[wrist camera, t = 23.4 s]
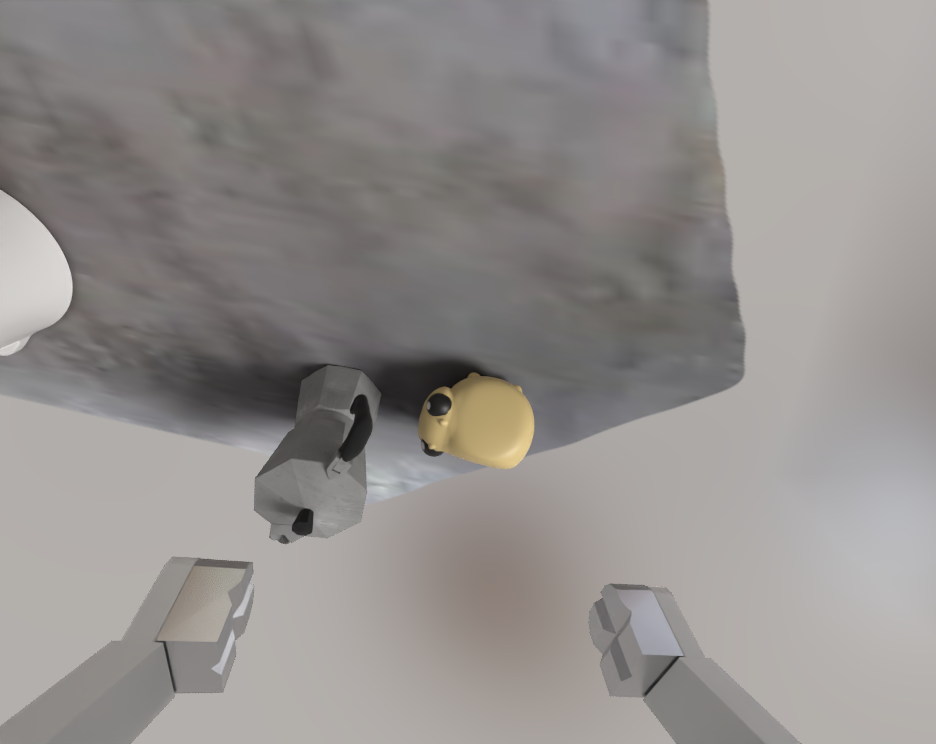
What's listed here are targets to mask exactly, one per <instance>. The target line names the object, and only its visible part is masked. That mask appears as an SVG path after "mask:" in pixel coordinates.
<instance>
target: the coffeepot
mask: <svg viewBox="0 0 936 744" xmlns="http://www.w3.org/2000/svg"><path fill="white" fill-rule="evenodd" d="M380 399H381V393H380V391H379V390H378V389H377V387H376V386H375V385H374V383H373V382H372V381H371V380H370V379H369V378H368V377H367V376H366V375H365V374H364V373H363V372H362V371H360V370H357V369H353V368H349V367H345V366H331V365H327V366H325V367H323V368H321V369H319V370H317V371H315V372H314V373H312V374H311V375H310V376H308V377H307V378H305V379H303V380H302V381H301V387H300V394H299V401H298V407H297V414H296V421H295V428H294V429H293V430H291V431H290V432H288V434H287V435H286V436H285V438H284V439H283V440H282V442H281V443H280V445H279V446H278V447H277V449H276V450H275V452H274V453H273V454H272V456H271V457H270V458H269V460H268V461H267V463H266V464H265V466H264V467H263V468H262V470H261V471H260V472H259V474H258V475H257V476H256V477H255V495H254V511H256V512H257V513H258V514H259V515H261V516H262V517H263V518H265V519H266V520H267V521H269V522H270V523H271V529H270V536H269V537H270V538H271V539H272V540H278V541H279V542H280V543H283V544H288V543H290V542H291V543H292V542H294V541H296V540H298V539H300V538H302V537H304V536H311V537H322V538H329V537H331V536H333V535H335V534H337V533H339V532H341V531H343V530H345V529H347V528H349V527H351V526H353V525H355V524H357V523H359V522H361V518H362V514H363V509H364V504H365V499H366V494H367V488H366V461H365V445H366V443H367V441H368V439H369V437H370V435H371V432H372V428H373V426H374V424H375V422H376V419H377V415H378V410H379V405H380Z"/></svg>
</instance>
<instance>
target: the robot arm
mask: <svg viewBox="0 0 936 744" xmlns="http://www.w3.org/2000/svg"><path fill="white" fill-rule="evenodd" d="M72 290H73V288H72V277H71V273H70V269H69V266H68V263H67V261H66V258H65V256H64V254H63V252H62V250H61V249H60V247H59V245H58V244H57V242H56V241H55V239H54V238H53V236H52V235H51V234H50V232H49V231H48V230H47V229H46V228H45V226H44V225H43V224H42V223H41V222H40V221H39V220H38V219H37V218H36V217H35V216H34V215H33V214H32V213H31V212H30V211H29V210H27V209H26V208H25V207H24V206H23V205H21V204H20V203H19V202H18V201H16V200H15V199H14V198H12V197H11V196H9V195H8V194H6V193H5V192H3V191H2V190H0V355H4V356H6V355H11V354H13V353H15V352H17V351H20V350H21V349H22V348H23V347H24V346H25V344H26V343H27V341H28V340H29V338H30V336H31V335H32V334H34V333H35V332H37V331H39V330H42V329H44V328H47V327H49V326H51V325H52V324H54V323H55V322H57V321H58V320H59V319H60V318H61V317H62V316H63V315H64V314H65V312H66V311H67V309H68V307H69V305H70V302H71V298H72ZM252 575H253V562H241V561H227V560H212V559H201V558H188V557H172V558H171V559H170V560H169V561H168V562H167V563H166V564H165V565H164V567H163V569H162V571H161V572H160V574H159V576H158V578H157V579H156V581H155V583H154V584H153V586H152V588H151V590H150V591H149V593H148V595H147V597H146V598H145V600H144V602H143V604H142V606H141V607H140V609H139V611H138V612H137V614H136V616H135V617H134V619H133V621H132V622H131V625H130V626H129V628H128V629H127V631H126V633H125V635H124V636H123V638H122V640H121V641H111V642H110V643H109V644H107V645H106V646H105V647H103V648H102V649H101V650H99V651H98V652H97V653H95V654H94V655H93V656H91V657H90V658H89V659H88V660H86V661H85V662H84V663H82V664H81V665H80V666H78V667H77V668H76V669H75V670H73V671H72V672H71V673H69V674H68V675H67V676H65V677H64V678H63V679H61V680H60V681H59V682H57V683H56V684H55V685H54V686H52V687H51V688H49V689H48V690H47V691H46V692H44V693H43V694H42V695H40V696H39V697H38V698H36V699H35V700H34V701H32V702H31V703H30V704H28V705H27V706H26V707H25V708H23V709H22V710H21V711H19V712H18V713H17V714H15V715H14V716H13V717H11V718H10V719H9V720H8V721H6V722H5V723H4V724H2V725H1V726H0V744H131V743H132V742H133V741H134V739H135V738H136V737H137V736H138V735H139V734H140V733H141V732H142V731H143V730H144V729H145V728H146V727H147V726H148V725H149V724H150V723H151V721H152V720H153V719H154V718H155V717H156V716H157V715H158V714H159V713H160V712H161V711H162V710H163V709H164V707H166V706H167V704H168V703H169V702H170V701H171V700H172V699H173V698H174V697H175V694H174V693H220V692H223V691H224V688H225V685H226V682H227V680H228V677H229V674H230V671H231V668H232V666H233V663H234V660H235V657H236V647H235V640H236V639H237V638H239V637H240V636H241V635H242V634H243V633H244V631H245V628H246V625H247V622H248V619H249V616H250V612H251V608H252V604H253V597H254V585H253V584H252V583H251V582H250V580H251V577H252ZM601 594H602V596H603V598H602V599H600V600H598V601H597V602H595V603H594V604H593V606H592V608H591V610H590V613H589V629H590V635H591V638H592V641H593V644H594V645H595V646H596V647H597V648H598V650H599V651H600V652H601V653H602V654H603V655H602V659H601V662H600V667H601V670H602V673H603V676H604V679H605V682H606V685H607V688H608V691H609V694H610V696H619V697H643V698H644V699H643V700H644V702H645V703H646V704H647V706H648V707H649V708H650V710H651V711H652V712H653V713H654V715H655V716H656V717H657V719H658V720H659V721H660V723H661V724H662V725H663V727H664V728H665V729H666V731H667V732H668V733H669V735H670V736H671V737H672V739H673V740H674V741H675V742H676V744H801V743H800V742H799V741H798V740H797V739H796V738H795V737H794V736H793V735H792V734H791V733H790V732H789V731H788V730H786V729H785V728H784V727H783V726H782V725H781V724H780V723H779V722H778V721H777V720H776V719H775V718H774V717H773V716H771V715H770V714H769V713H768V712H767V711H766V710H765V709H764V708H763V707H762V706H761V705H760V704H759V703H758V702H757V701H756V700H755V699H754V698H753V697H752V696H750V695H749V694H748V693H747V692H746V691H745V690H744V689H743V688H742V687H741V686H740V685H739V684H737V682H736V681H735V680H733V679H732V678H731V677H730V676H729V675H728V674H727V673H726V672H725V671H724V670H723V669H722V668H721V667H720V666H718V664H717V663H715V662H714V661H713V660H712V659H711V658H705V656H704V654H703V652H702V651H701V649H700V647H699V645H698V643H697V641H696V639H695V637H694V635H693V633H692V631H691V629H690V627H689V625H688V624H687V622H686V620H685V618H684V616H683V614H682V612H681V610H680V608H679V606H678V604H677V602H676V601H675V598H674V597H673V595H672V593H671V592H670V591H669V590H668V589H667V588H665V587H658V586H645V585H627V584H608V585H605V586H604V588H603V589H602V591H601Z"/></svg>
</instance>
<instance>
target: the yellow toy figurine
mask: <svg viewBox="0 0 936 744" xmlns="http://www.w3.org/2000/svg"><path fill="white" fill-rule="evenodd" d="M533 434H534V416H533V411H532V408H531V406H530V404H529V402H528V400H527V398H526V397H525V396H524V395H523V393H522V389H521V387H520V386H518V385H512V384H510V383H508V382H506V381H504V380H502V379H499V378H494V377H488V376H480V375H479V374H478V373H475V372H473V373H470V374H469V375H468V378H466V379H464V380H462V381H460V382H458V383H457V384H455V385H454V386H453V387H452V388H448V387H440V388H438V389H436V390H435V391H433V392H432V393H431V394H430V395H429V396H428V398H427V399H426V401H425V403H424V405H423V408H422V411H421V415H420V419H419V424H418V436H419V438H420V440H421V447H422V450H423V451H424V453H426V454H427V455H429V456H433V457H435V456H439V455H441V454H442V453H443V452H445V453H448V454H450V455H453V456H455V457H458V458H461V459H464V460H467V461H470V462H474V463H477V464H481V465H485V466H489V467H494V468H499V469H510V468H513V467H515V466H516V465H517V464H518V463H519V462H520V461H521V460H522V459H523V458H524V456H525V455H526V453H527V451H528V449H529V447H530V444H531V442H532V438H533Z"/></svg>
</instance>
